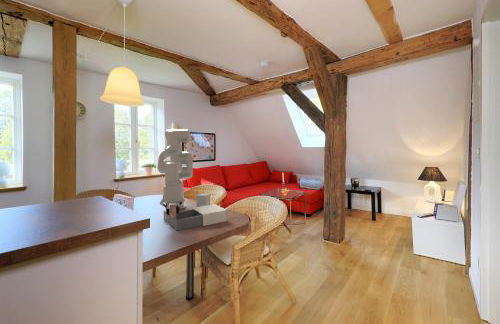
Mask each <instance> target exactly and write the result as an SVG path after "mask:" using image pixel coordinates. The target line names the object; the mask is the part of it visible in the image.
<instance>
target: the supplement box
mask: <svg viewBox="0 0 500 324" xmlns="http://www.w3.org/2000/svg"><path fill="white" fill-rule="evenodd" d="M206 205H211V194H210V193H204V192H203V193H202V192H201V193H199V194H196V207H200V206H206Z"/></svg>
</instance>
